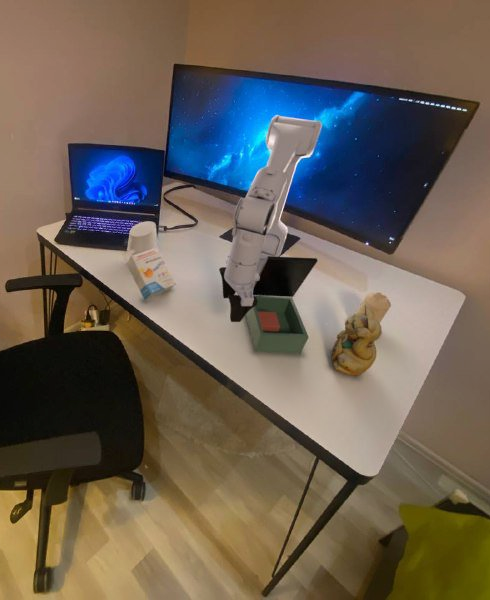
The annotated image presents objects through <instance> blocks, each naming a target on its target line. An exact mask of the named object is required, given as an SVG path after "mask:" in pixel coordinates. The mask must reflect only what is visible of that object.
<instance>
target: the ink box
mask: <svg viewBox="0 0 490 600" xmlns="http://www.w3.org/2000/svg"><path fill="white" fill-rule="evenodd" d="M157 248H158V246H157V247H156V248H153V249H150V250H148V251H145V252H142V253H139V254H136V255H133V256H132V254H133V253H134V252H136V251H135V250H134V249H133V250H130V251H127V250H126V251H123V252H122V256H123V259H124V261H125V263H126V266H127V268H128V270H129V272H130V274H131V276H132V278H133V281H134V282H135V284H136V286H137V288H138V290H139V292H140V294H141V296H142V298H143V300H144V301H147V300H149V299H151V298H153V297H156V296H158V295H160V294H163V293H165V292H168V291H170V290H171V289H172V288H174V286H176V285H177V283H176V281H175V279H174V277H173V276H172V274H171V271H170V270H169V268H168V266H167V265H166V262H165V260H164V258H163V256H162V254H161V253H160V250H159V249H157Z"/></svg>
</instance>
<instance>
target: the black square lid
mask: <svg viewBox="0 0 490 600" xmlns="http://www.w3.org/2000/svg"><path fill="white" fill-rule="evenodd" d="M317 263H318V258H317V257H296V256H278V257H275V256H267V258H266V260H265V262H264V264H263V267H262V269H261V271H260V273H259V276H260V279H259V281H255V283H254V289H253V295H254V296H276V297H292V298H294V297H295V295H296V293H297V292H298V291H299V289H300V287H301V286H302V284H303V283H304V282H305V280H306V279H307V277H308V276H309V275H310V273H311V272H312V270H313V269H314V267H315V265H316V264H317Z"/></svg>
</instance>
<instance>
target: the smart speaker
mask: <svg viewBox="0 0 490 600" xmlns="http://www.w3.org/2000/svg"><path fill="white" fill-rule="evenodd" d="M156 247H157V249H158V236H157V225H156V223H155V222H153V221H149V220H147V221H142V222H141V221H140V222H139V223H137V224H135V225H133V226H132V227H131V228H130V230H129V235H128V241H127V249H126V252H127V251H130V250H133V249H134V250H135V251H136V252H134V253H133V254H132V256H133V255H136V254H139V253H142V252H145V251H148V250H150V249H153V248H156ZM158 250H159V249H158Z"/></svg>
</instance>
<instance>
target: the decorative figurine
mask: <svg viewBox="0 0 490 600" xmlns="http://www.w3.org/2000/svg"><path fill="white" fill-rule="evenodd" d="M382 331H383V330H382V325H381V322H380V323H379V322H378V321H377V320H376V319H375V318H374V313H373V311H372V309H371V308H370V307H369V306H367V305H365V313H358V314H353V316H352V317H349V318H348V319H346V320H345V323H344V330H341V331H340V332H339V333H337V334H336V341H335V342H334V344H333V346H332V349H331V353H330V355H331V356H330V357H331V361H332V369H334V370H335V371H336V372H337V371H338V372H339V373H342V374H344V375H349V376H353V377H356V376H360V375H362V374H364V373H366V372H367V370H369V369H370V368H371V367H372V366H373V365H374V363H375V361H376V359H377V347H376V343H375V342H376V341H377V340H378V339H379V338H380V337H381V335H382Z"/></svg>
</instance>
